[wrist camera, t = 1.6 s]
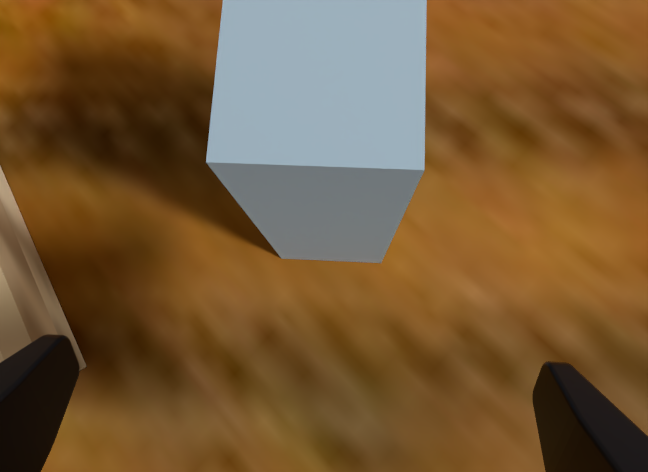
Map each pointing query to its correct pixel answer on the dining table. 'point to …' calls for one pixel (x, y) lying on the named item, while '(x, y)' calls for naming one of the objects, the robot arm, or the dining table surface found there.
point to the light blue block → (321, 120)
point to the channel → (25, 286)
